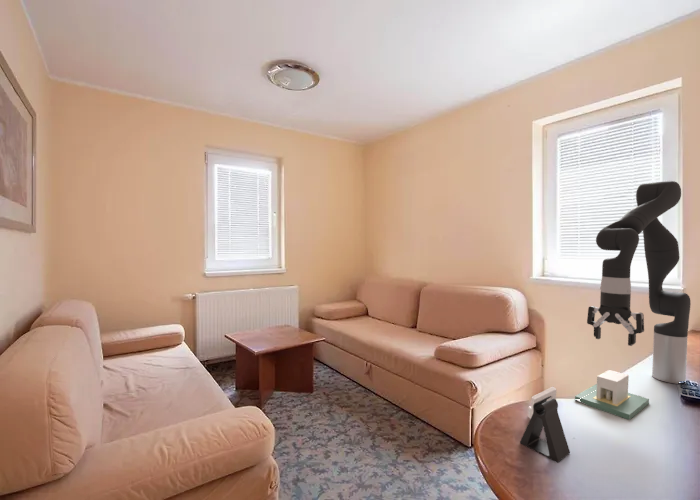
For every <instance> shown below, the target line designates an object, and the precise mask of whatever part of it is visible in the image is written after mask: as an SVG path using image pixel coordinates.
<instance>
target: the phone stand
mask: <svg viewBox="0 0 700 500" xmlns="http://www.w3.org/2000/svg"><path fill="white" fill-rule="evenodd" d="M549 398H550V397H547V398H544V399H542V400H540V401H538V402H536V403H535V404H534V405H533V415H532V417H531V419H530V418H529V422H528V423H527V426H526V427H525V428H526V429H525V430H524V432H523V434H522V436H521V439H520V441H519V444H520V445H523V446H525V447H526V448H528V449H530V450H532V451H534V452H536V453H538V454H540V455H542V456H544V457H546V458H548V459H550V460H551V461H554V462H555V463H558V462H560V461H561V460H563V459H564V458H566V457H567V456H568V455H570V454H571V451H570V447H569V445H568V441H567V438H566V434H565V432H564V429H563V425H562V422H561V419H560V415H559V412H558V408H559V404H558V403H559V402H558V401H557V399H556V400H555V399H554V398H553V399H551V400H549V401H547V399H549ZM542 430H543V432H544V436H545V439H542V438H541V435H542Z"/></svg>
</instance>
